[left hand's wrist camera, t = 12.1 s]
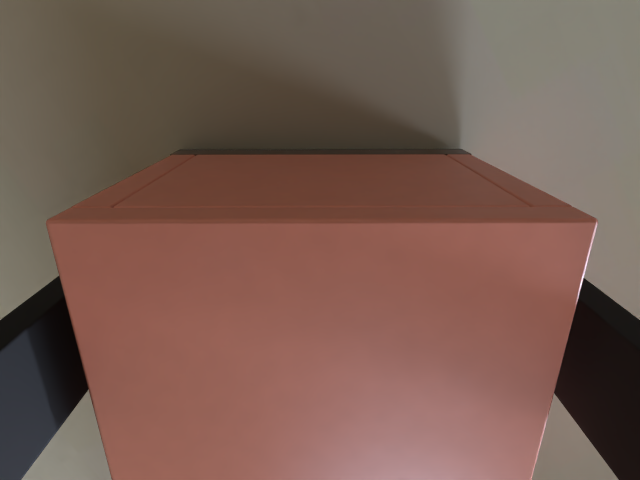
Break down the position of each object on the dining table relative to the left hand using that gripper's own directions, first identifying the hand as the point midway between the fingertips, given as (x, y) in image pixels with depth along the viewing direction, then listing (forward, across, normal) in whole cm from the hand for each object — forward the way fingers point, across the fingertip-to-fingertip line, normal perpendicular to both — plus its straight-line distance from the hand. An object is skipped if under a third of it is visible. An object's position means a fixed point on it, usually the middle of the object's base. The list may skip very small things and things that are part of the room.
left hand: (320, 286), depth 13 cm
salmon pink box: (+3, 0, -6) cm, 7 cm away
